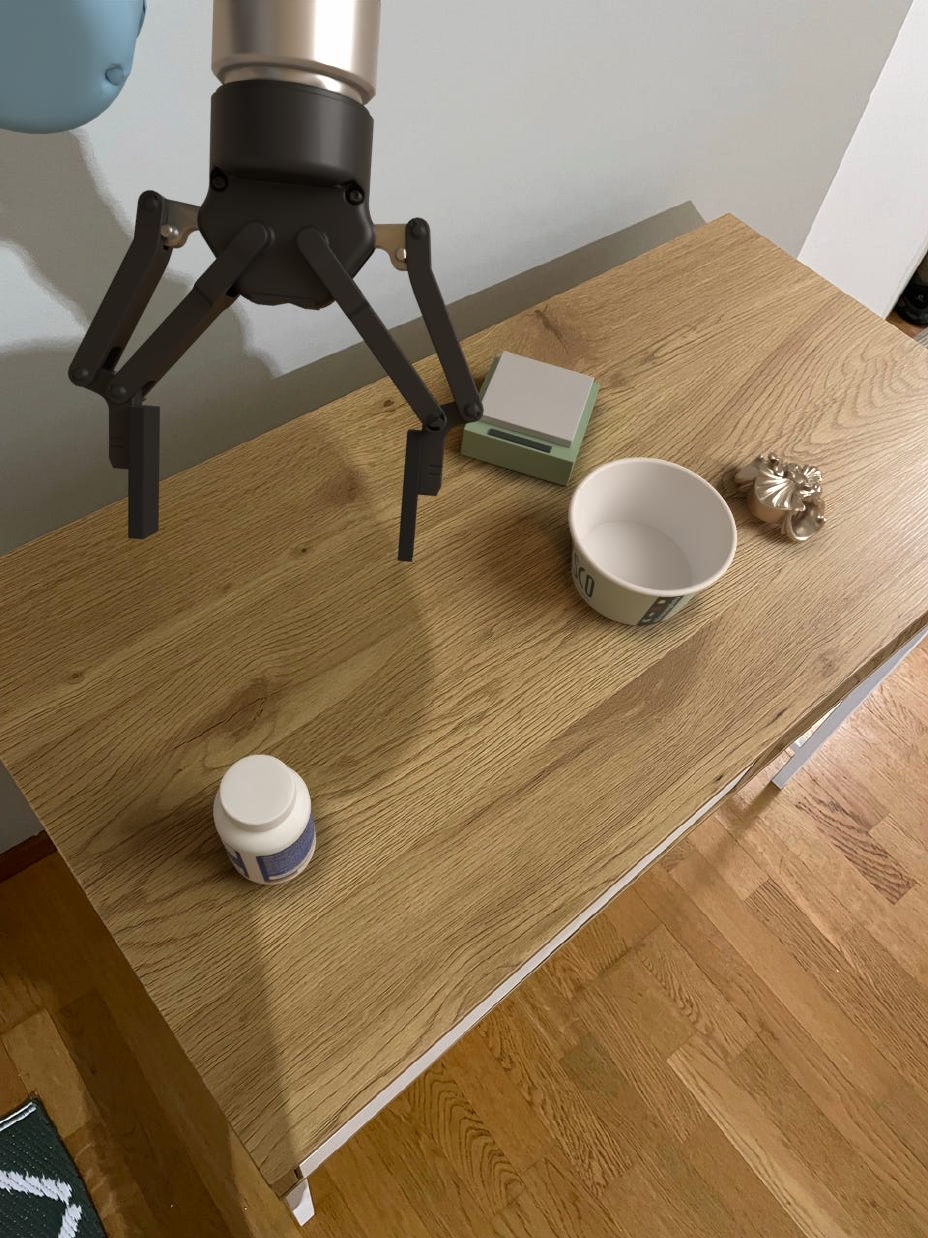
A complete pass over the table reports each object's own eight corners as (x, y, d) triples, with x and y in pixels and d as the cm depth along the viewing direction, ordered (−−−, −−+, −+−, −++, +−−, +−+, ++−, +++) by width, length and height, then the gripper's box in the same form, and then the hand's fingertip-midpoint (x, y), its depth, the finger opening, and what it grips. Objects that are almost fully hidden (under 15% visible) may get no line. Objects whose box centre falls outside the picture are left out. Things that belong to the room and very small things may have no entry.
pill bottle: (326, 811, 60) (319, 752, 51) (303, 894, 57) (293, 846, 48) (243, 794, 60) (222, 732, 51) (217, 877, 57) (191, 826, 49)
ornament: (842, 521, 76) (863, 493, 72) (782, 557, 73) (800, 529, 70) (775, 454, 79) (791, 425, 75) (715, 487, 76) (729, 457, 73)
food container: (738, 614, 70) (770, 565, 64) (596, 663, 67) (617, 616, 61) (661, 493, 75) (684, 439, 70) (527, 533, 72) (540, 479, 67)
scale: (460, 454, 76) (464, 422, 72) (492, 379, 80) (497, 345, 77) (566, 486, 75) (575, 455, 72) (592, 409, 79) (602, 376, 76)
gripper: (549, 145, 48) (507, 552, 53) (54, 92, 47) (60, 514, 52) (569, 103, 41) (518, 580, 46) (-17, 39, 39) (-1, 536, 45)
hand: (275, 546), depth 49 cm, fingers open, 13 cm apart
